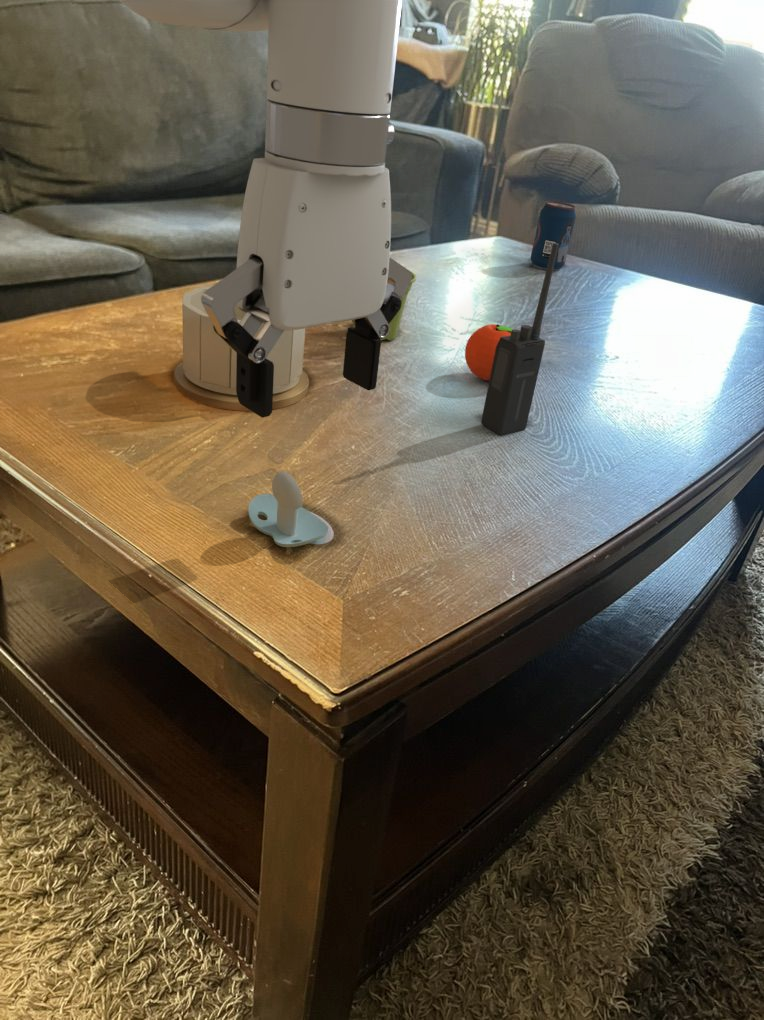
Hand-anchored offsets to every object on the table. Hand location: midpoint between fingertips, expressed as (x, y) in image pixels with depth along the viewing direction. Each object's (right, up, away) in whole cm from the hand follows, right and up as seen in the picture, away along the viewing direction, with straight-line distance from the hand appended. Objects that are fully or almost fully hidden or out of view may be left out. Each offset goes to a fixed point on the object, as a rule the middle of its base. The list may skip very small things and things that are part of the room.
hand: (309, 396), depth 57 cm
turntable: (-11, +6, +32) cm, 34 cm away
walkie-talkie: (+19, +1, +30) cm, 36 cm away
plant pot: (+4, +16, +51) cm, 54 cm away
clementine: (+19, +8, +42) cm, 47 cm away
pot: (-8, +8, +33) cm, 35 cm away
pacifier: (-2, -11, +7) cm, 13 cm away
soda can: (+38, +41, +100) cm, 114 cm away
